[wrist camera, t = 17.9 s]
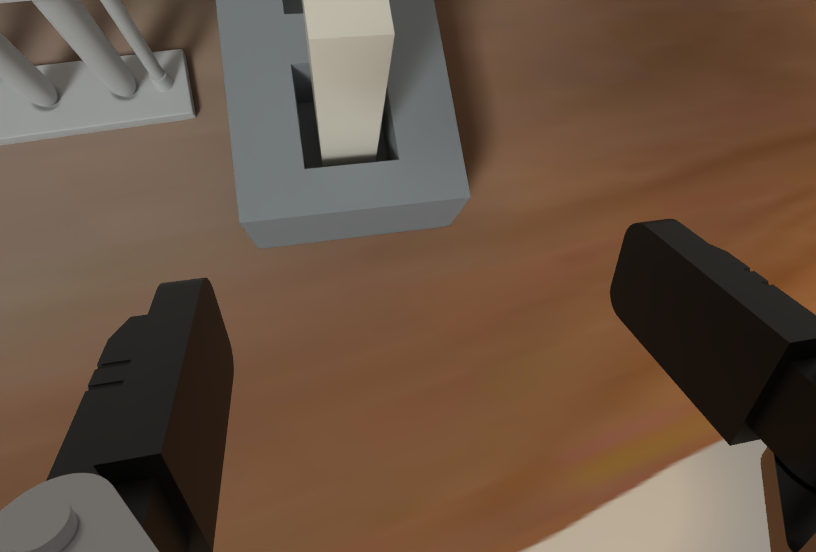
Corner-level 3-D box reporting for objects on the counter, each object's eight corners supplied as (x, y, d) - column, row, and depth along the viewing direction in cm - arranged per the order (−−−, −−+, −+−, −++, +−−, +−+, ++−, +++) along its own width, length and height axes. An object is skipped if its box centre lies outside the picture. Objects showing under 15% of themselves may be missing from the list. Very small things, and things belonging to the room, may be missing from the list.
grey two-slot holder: (258, 248, 30) (239, 223, 24) (226, -38, 33) (203, -117, 27) (449, 225, 32) (470, 197, 26) (401, -44, 35) (411, -119, 29)
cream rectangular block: (324, 180, 29) (308, 39, 17) (315, 118, 30) (294, -62, 17) (373, 174, 30) (394, 34, 17) (364, 114, 31) (377, -64, 18)
